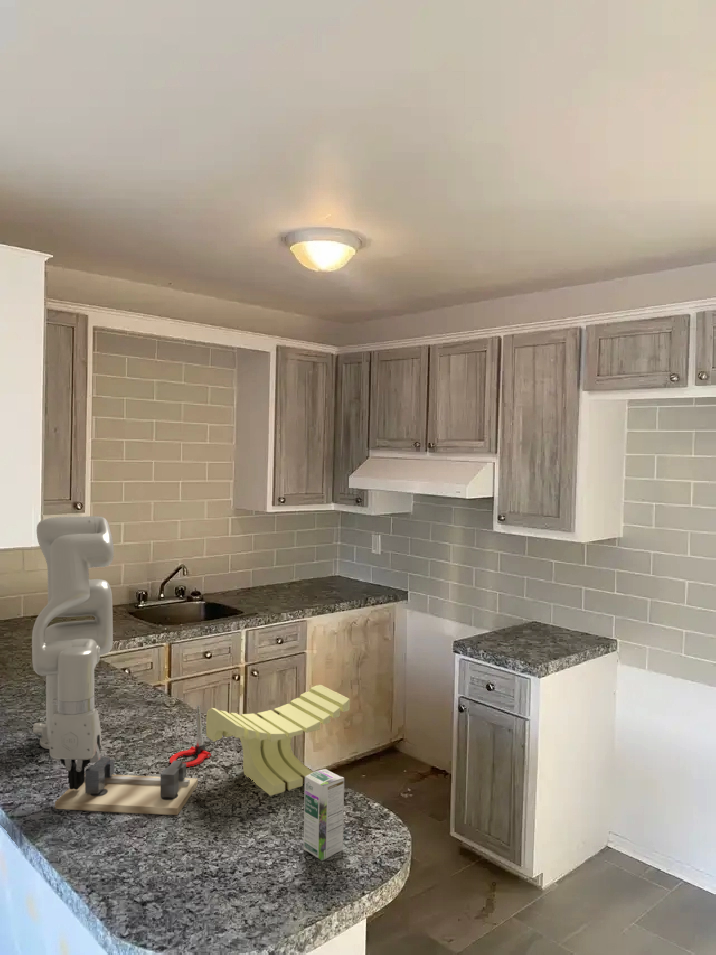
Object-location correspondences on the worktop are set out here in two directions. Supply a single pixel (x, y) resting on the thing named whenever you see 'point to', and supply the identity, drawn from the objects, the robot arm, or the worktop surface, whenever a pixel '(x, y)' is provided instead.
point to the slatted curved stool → (277, 736)
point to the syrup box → (323, 813)
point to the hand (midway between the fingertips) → (76, 786)
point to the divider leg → (98, 775)
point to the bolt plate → (135, 793)
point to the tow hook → (198, 748)
